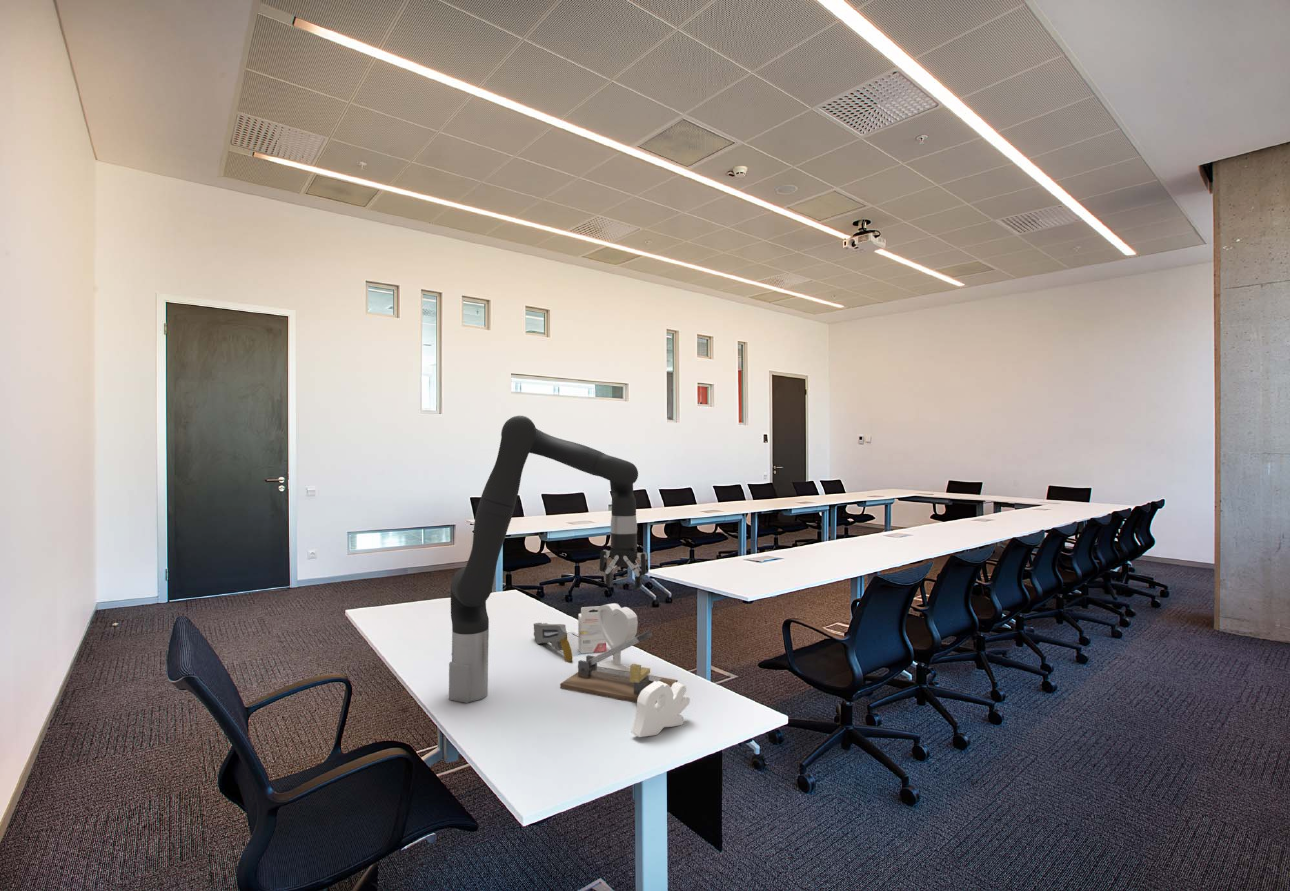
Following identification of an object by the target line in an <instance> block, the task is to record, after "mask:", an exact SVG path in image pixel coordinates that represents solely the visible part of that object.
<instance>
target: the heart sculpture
mask: <svg viewBox="0 0 1290 891" xmlns="http://www.w3.org/2000/svg"><path fill="white" fill-rule="evenodd" d="M597 612H598V624H599V627H600V631H601V633H602V635H603V637H604V639H605V641H606V644H607V645H608V646H609V648H610V649H612V648H614V647H616V646H618V645H620V644H622V643H624V642H626V641H628V640H630V639H632V638H634V637H636V635H637V633H638V625H639V624H638V623H639V622H638V615H637V614H636V613H635V611H633V609H631V608H630V607H627V606H624V607H621V606H620V605H619V603H607V604H603V605H600V607H599V608H598V610H597ZM621 653H622V651H620V652H618V653H616V654H614V655H612V659H604V660H602V661H600V662H598V664H600V665H601V666H603V667H605V668H611V669H616V670H622V671H628V672H630V666H626V665H625V664H622V662H621V658H622V654H621Z"/></svg>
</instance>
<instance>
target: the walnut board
mask: <svg viewBox="0 0 1290 891" xmlns="http://www.w3.org/2000/svg"><path fill="white" fill-rule="evenodd" d="M597 667H600V668H606V669H611V668H608V667H606V666H598V665H597ZM612 670H616V669H612ZM618 671H622V670H618ZM624 672H628V671H624ZM647 676H653V677H659V678H662V682H663V683H665V684H668V685H669V686H670V687H671V686H672V684H673V683H675V682H678V683H679V681H678V679H675V678H668V677H663V676H657V675H650V674H648V675H647ZM559 688H560V689H561V690H568V691H573V692H578V693H584V694H589V695H594V696H598V697H599V696H600V697H605V698H609V699H610V698H611V699H614V700H615V699H616V700H621V701H625V702H631V703H635V704H637V699H638V696H639V695H636V694H634V685H630V684H625V683H619V682H614V681H608V680H602V679H597V678H591V677H589V678H588V679H586V678H580V677H578V671H577V672H576V673H574V674H573V675H571V676H569V677H568V678H566V679H565V680H564V681H562V682H561V683H560V684H559ZM656 703H657V701H656Z"/></svg>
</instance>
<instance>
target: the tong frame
mask: <svg viewBox="0 0 1290 891" xmlns="http://www.w3.org/2000/svg"><path fill="white" fill-rule="evenodd" d="M595 656H596V655H595ZM595 656H594V655H588V654H587V655H586V657H585V659H586V660H582V659H580V660H578V661H577V665H578V666H577V672H578V677H580V678H586V679H588V678H589V677H591V678H597V679H602V680H608V681H614V682H619V683H625V684H630V685H634V694H636V695H639V694H640V692H641V691H642V690H643V689H644V688H646V687H647V686H648V685H650V684H651V683H653V682H654V681H656V682H657V681H661V682H662V678H659V677H660V676H658V677H653V676H654V675H652V676H646V677H645V678H644V679H642V680H641V681H640V682H639V683H636V682H630V672H624V671H618V670H612V669H606V668H607V667H605V668H600V667H601V666H599V667H597V666H598V663H596V664H593V665H591V666H589V662H588V660H590V659H591V658H593V657H595Z"/></svg>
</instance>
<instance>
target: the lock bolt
mask: <svg viewBox="0 0 1290 891" xmlns="http://www.w3.org/2000/svg"><path fill="white" fill-rule="evenodd" d="M629 668H630V682H636V683H639V682H640V681H641V680H642V679H644V678H645V677H646V676H647V675H650V674H651V668H650V667H643V666H642V665H641V664H636V663H632V664H631V665H629Z"/></svg>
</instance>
